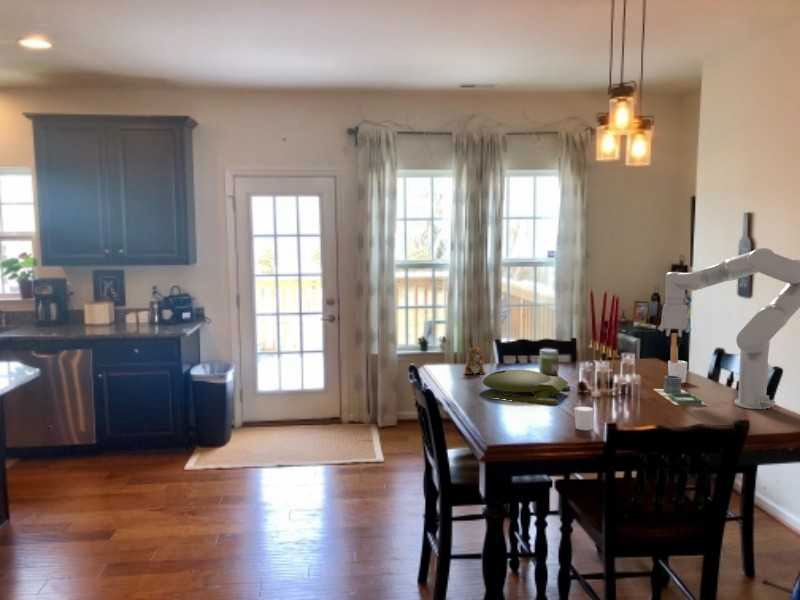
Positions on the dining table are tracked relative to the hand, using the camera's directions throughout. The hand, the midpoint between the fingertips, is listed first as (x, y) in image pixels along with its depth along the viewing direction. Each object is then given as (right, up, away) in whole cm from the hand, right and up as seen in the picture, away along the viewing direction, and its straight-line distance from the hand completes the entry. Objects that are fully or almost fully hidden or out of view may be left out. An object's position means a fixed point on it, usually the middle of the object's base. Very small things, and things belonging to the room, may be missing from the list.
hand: (674, 345), depth 266 cm
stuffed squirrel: (-77, -18, +51) cm, 94 cm away
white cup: (+11, -19, +22) cm, 31 cm away
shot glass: (-50, -26, -42) cm, 70 cm away
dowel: (0, -7, +1) cm, 7 cm away
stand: (0, -22, -5) cm, 22 cm away
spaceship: (-61, -22, +9) cm, 66 cm away
